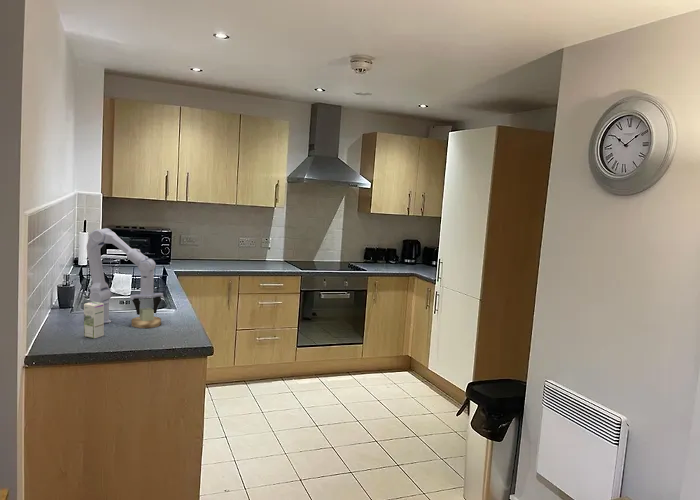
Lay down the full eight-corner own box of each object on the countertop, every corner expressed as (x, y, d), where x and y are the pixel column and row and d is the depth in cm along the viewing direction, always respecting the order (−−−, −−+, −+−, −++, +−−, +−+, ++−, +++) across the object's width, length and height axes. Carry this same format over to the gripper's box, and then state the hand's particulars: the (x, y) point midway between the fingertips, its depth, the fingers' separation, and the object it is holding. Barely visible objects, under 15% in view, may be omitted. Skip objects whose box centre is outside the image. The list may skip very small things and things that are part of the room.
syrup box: (104, 335, 232) (104, 302, 230) (93, 338, 226) (93, 305, 224) (93, 333, 233) (94, 301, 232) (83, 337, 228) (83, 303, 226)
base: (136, 329, 244) (136, 324, 244) (128, 322, 254) (128, 317, 254) (164, 326, 252) (164, 321, 251) (155, 320, 262) (156, 315, 262)
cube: (142, 321, 249) (142, 310, 248) (139, 318, 253) (139, 308, 252) (153, 320, 252) (153, 309, 251) (150, 317, 256) (150, 307, 255)
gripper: (133, 287, 243) (133, 316, 245) (165, 285, 252) (164, 313, 254) (129, 284, 249) (128, 313, 250) (160, 283, 258) (159, 310, 259)
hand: (146, 313), depth 252 cm, fingers open, 7 cm apart
